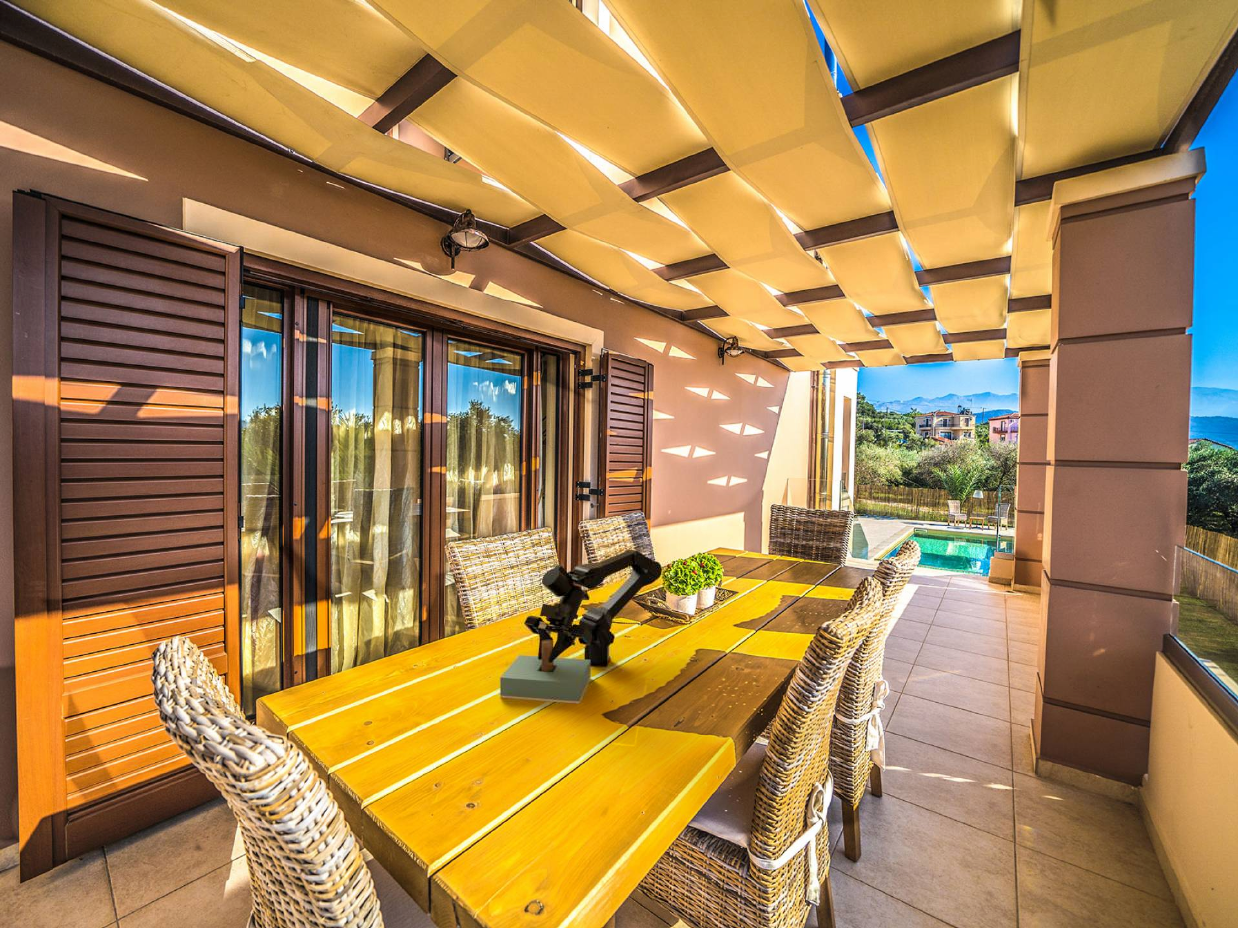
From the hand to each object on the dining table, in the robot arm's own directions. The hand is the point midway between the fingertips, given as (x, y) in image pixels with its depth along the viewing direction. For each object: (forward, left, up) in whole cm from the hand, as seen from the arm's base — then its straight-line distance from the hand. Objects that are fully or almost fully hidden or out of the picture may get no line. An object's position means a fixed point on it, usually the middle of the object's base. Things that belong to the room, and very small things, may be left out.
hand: (544, 660), depth 129 cm
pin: (0, -1, -7) cm, 7 cm away
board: (0, -1, -7) cm, 8 cm away
